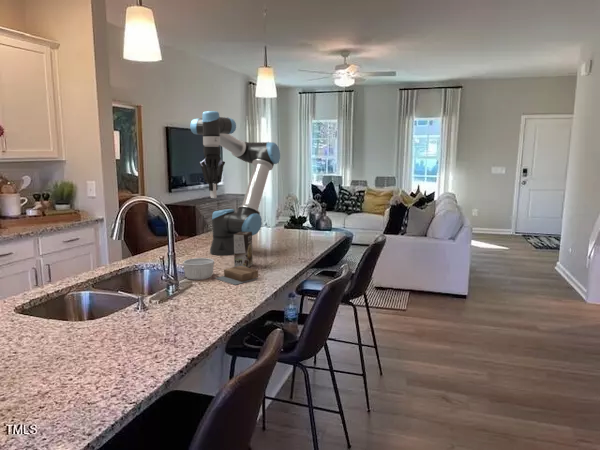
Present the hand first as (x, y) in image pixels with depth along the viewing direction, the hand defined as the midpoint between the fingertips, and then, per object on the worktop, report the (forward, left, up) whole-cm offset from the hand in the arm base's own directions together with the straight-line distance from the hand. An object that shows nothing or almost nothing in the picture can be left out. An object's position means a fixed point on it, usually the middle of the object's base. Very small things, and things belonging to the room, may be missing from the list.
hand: (213, 197), depth 207 cm
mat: (+8, +25, -32) cm, 42 cm away
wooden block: (0, +25, -31) cm, 40 cm away
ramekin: (+16, +10, -33) cm, 38 cm away
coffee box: (-8, +11, -33) cm, 35 cm away
